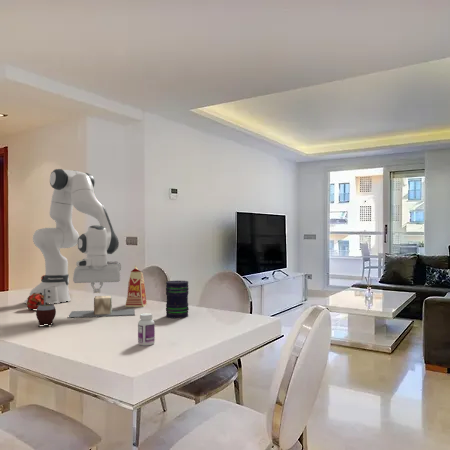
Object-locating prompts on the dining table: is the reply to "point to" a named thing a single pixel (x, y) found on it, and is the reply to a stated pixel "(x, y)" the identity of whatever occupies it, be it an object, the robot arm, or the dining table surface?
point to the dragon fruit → (35, 301)
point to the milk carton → (136, 290)
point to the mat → (114, 313)
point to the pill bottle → (146, 330)
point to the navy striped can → (177, 299)
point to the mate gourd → (45, 312)
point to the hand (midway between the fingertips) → (97, 292)
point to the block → (102, 305)
